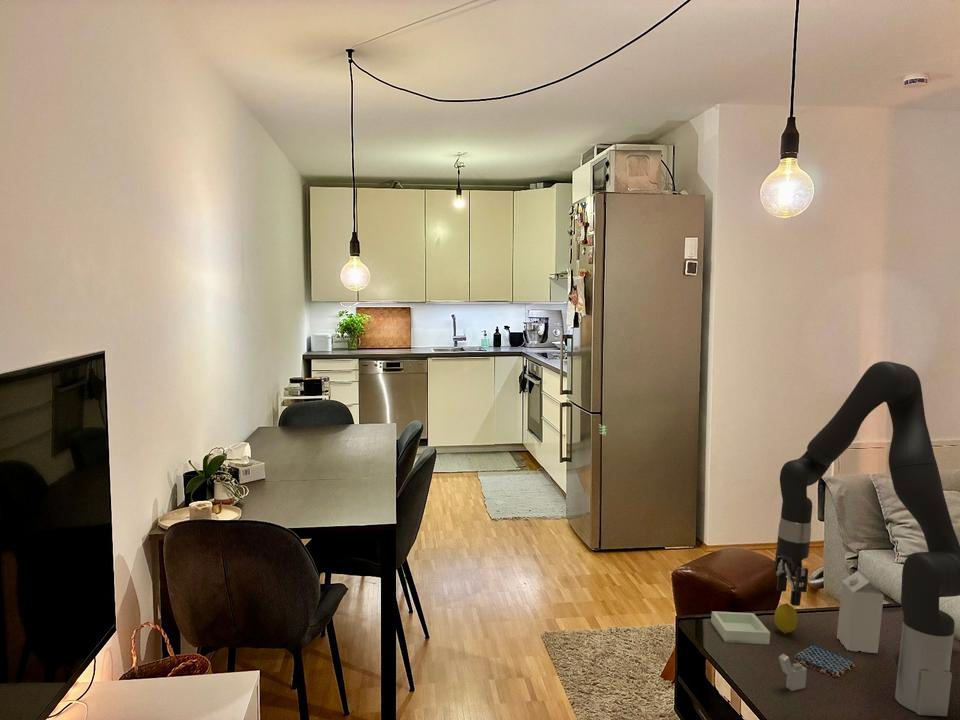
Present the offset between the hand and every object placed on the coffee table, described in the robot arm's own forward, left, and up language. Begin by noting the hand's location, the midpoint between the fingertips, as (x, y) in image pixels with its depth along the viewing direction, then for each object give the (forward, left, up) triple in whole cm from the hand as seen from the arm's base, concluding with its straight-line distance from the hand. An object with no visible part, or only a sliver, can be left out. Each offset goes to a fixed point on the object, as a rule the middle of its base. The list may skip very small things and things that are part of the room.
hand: (787, 597), depth 186 cm
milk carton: (-5, -16, -10) cm, 19 cm away
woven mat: (-15, -3, -10) cm, 19 cm away
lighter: (-27, +10, -10) cm, 31 cm away
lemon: (0, 0, -10) cm, 10 cm away
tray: (-1, +12, -9) cm, 15 cm away
